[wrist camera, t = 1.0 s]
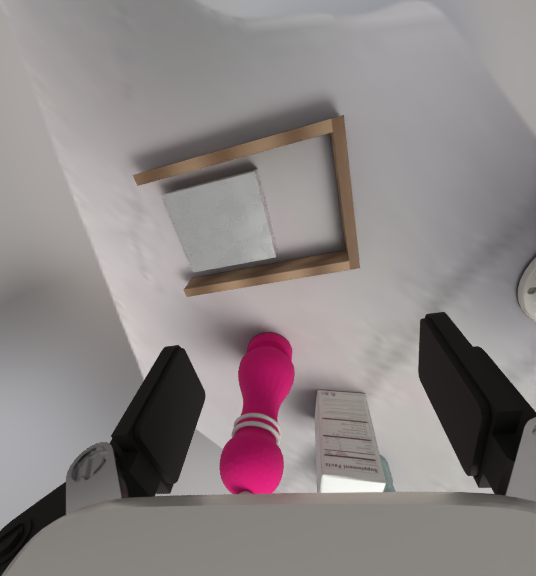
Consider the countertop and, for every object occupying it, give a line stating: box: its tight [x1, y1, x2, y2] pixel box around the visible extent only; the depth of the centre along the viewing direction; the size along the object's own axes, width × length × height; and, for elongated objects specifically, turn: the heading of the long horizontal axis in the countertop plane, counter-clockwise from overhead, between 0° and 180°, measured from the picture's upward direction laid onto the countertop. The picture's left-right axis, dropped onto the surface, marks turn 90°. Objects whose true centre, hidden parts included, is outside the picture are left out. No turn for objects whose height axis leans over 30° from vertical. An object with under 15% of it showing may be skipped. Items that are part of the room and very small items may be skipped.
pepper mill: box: [220, 333, 295, 494], centre depth 32 cm, size 7×7×20 cm
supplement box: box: [315, 390, 386, 493], centre depth 39 cm, size 7×7×13 cm
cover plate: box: [162, 169, 278, 272], centre depth 31 cm, size 10×9×2 cm
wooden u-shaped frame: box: [133, 115, 360, 297], centre depth 30 cm, size 20×14×3 cm
